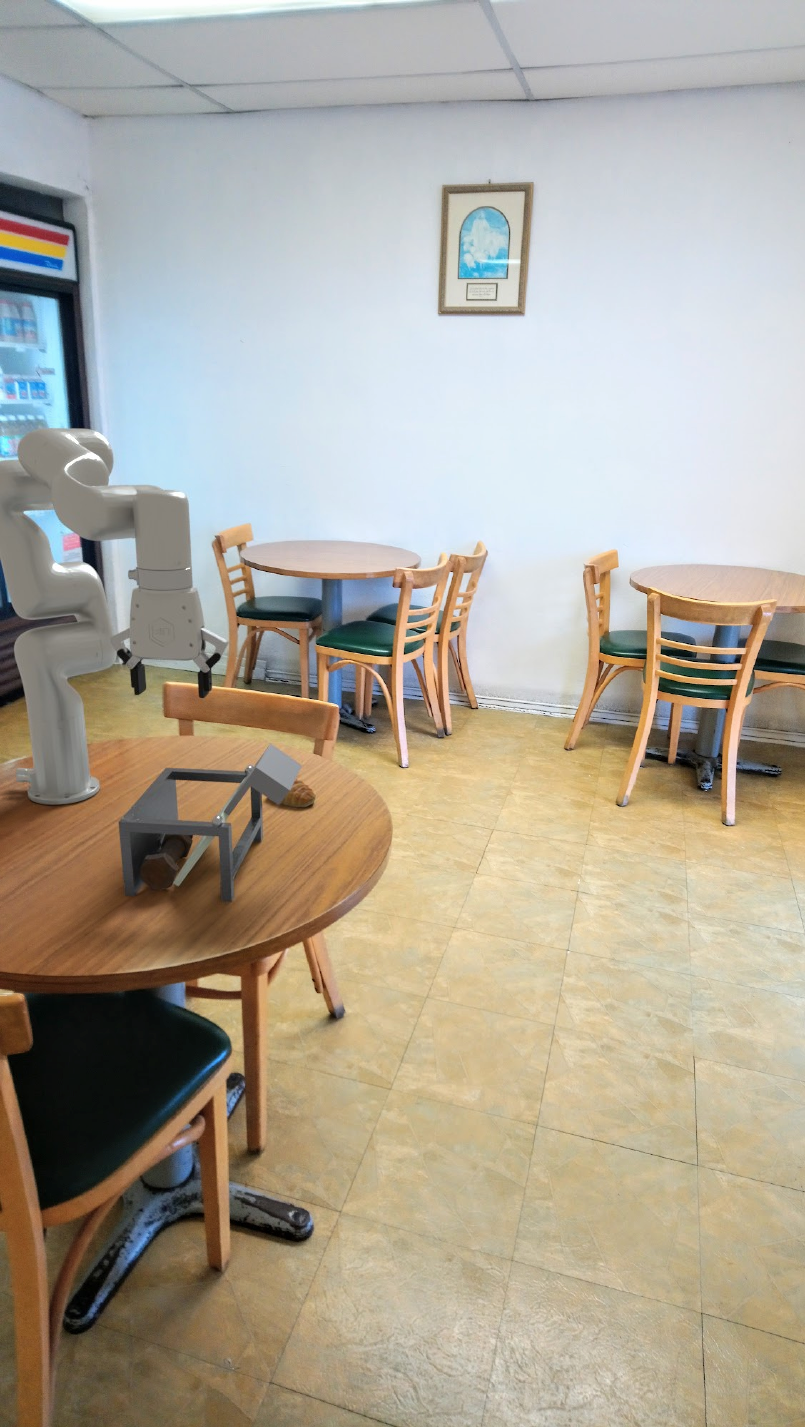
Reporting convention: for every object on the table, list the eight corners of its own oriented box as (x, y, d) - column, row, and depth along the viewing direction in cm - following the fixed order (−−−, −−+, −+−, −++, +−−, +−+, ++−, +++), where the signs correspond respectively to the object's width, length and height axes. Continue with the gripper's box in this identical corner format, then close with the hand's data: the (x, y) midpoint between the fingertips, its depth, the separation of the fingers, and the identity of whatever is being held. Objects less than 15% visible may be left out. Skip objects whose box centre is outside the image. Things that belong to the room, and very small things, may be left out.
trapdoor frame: (124, 895, 128) (117, 814, 124) (170, 832, 148) (165, 760, 144) (231, 901, 127) (228, 819, 123) (263, 837, 147) (260, 765, 143)
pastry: (324, 802, 162) (324, 783, 161) (298, 813, 157) (298, 794, 156) (288, 788, 168) (288, 770, 166) (263, 799, 163) (262, 781, 161)
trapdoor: (206, 904, 130) (172, 882, 129) (235, 851, 146) (205, 831, 145) (285, 800, 123) (250, 776, 123) (306, 756, 140) (275, 735, 139)
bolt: (198, 816, 142) (172, 856, 128) (204, 844, 143) (179, 887, 129) (163, 821, 142) (134, 861, 128) (170, 849, 144) (141, 891, 129)
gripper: (95, 581, 120) (105, 699, 126) (218, 586, 119) (222, 704, 125) (116, 572, 128) (124, 684, 133) (231, 577, 127) (235, 689, 132)
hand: (172, 694), depth 129 cm, fingers open, 9 cm apart
